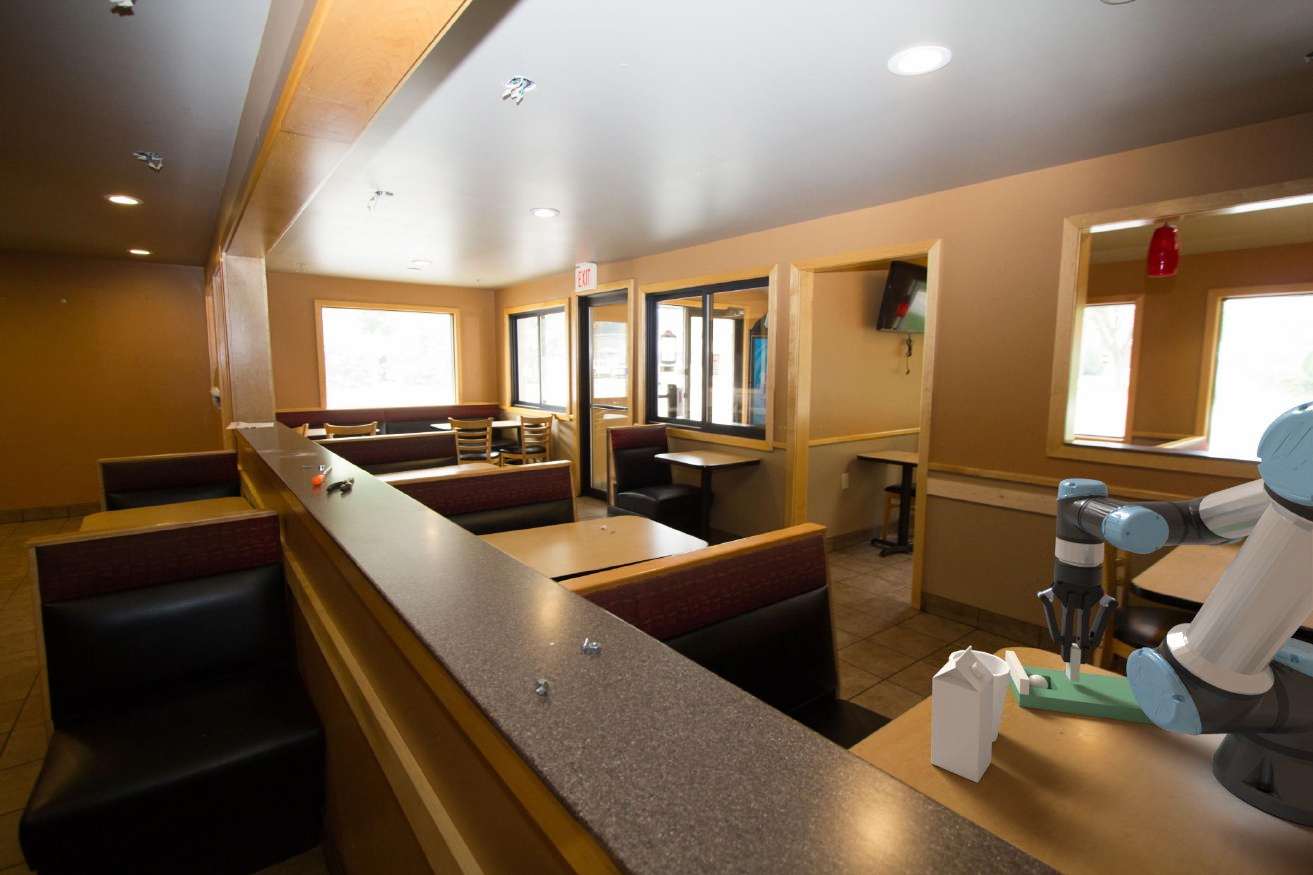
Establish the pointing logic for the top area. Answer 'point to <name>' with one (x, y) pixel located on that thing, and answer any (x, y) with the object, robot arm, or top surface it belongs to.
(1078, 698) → the putting board
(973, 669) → the milk carton
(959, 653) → the foam cup
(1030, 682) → the golf ball
